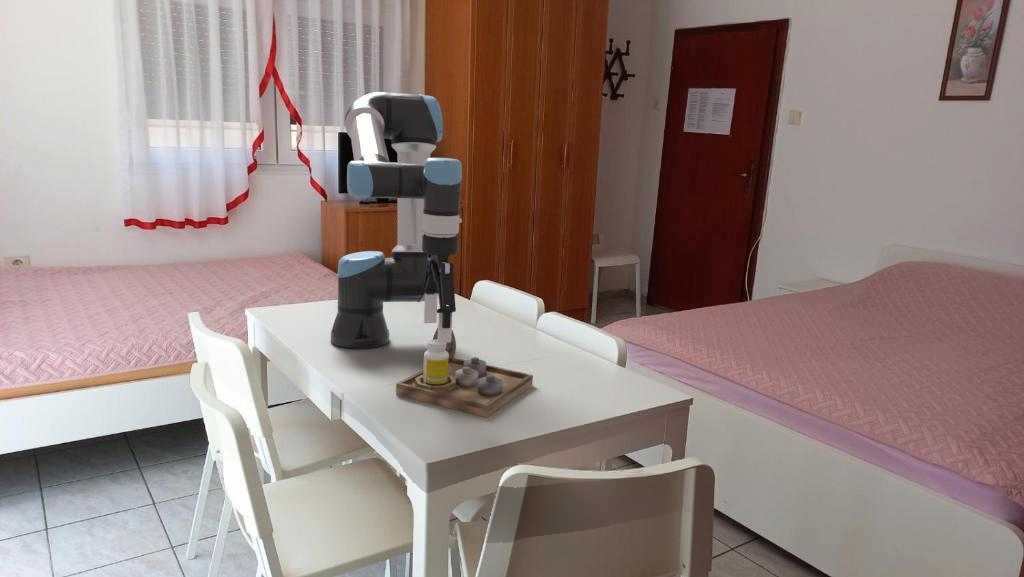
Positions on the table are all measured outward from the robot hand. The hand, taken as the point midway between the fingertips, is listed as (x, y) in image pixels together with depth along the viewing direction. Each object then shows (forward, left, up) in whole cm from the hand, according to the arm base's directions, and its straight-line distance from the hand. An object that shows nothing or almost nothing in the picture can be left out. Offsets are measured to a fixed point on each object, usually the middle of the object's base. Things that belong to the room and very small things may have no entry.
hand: (436, 332), depth 150 cm
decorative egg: (-9, +18, -14) cm, 24 cm away
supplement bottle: (0, 0, -12) cm, 12 cm away
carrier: (+5, +5, -13) cm, 15 cm away
